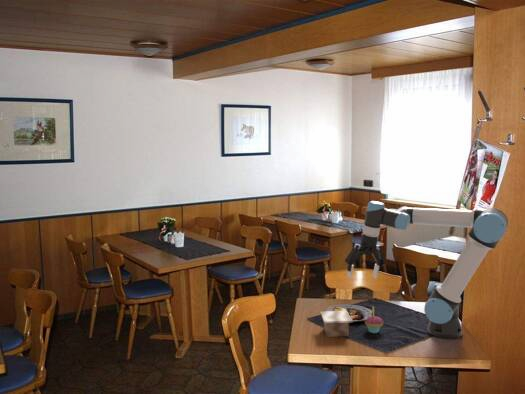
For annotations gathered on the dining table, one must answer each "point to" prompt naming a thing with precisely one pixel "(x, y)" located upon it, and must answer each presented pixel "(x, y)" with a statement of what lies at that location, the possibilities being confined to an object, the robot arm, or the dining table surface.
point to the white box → (336, 323)
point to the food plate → (353, 311)
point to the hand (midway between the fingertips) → (362, 277)
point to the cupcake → (374, 323)
